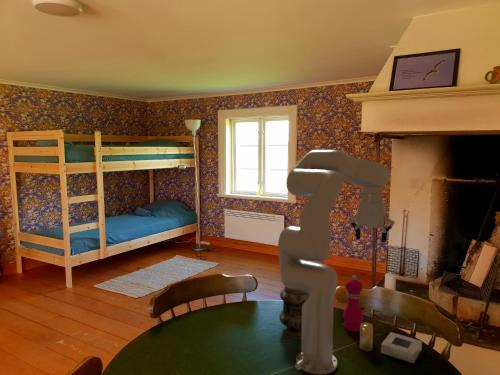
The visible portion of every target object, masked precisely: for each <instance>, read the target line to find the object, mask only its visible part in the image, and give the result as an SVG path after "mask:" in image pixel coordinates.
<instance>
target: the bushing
mask: <svg viewBox="0 0 500 375" xmlns="http://www.w3.org/2000/svg"><path fill="white" fill-rule="evenodd" d="M373 338H374V324H372V323H370V322H367V321H365V322H364V321H362V322H361V324H360V331H359V349H360V350H362V351H364V352H371V351H373Z"/></svg>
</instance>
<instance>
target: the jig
mask: <svg viewBox="0 0 500 375" xmlns="http://www.w3.org/2000/svg"><path fill="white" fill-rule="evenodd" d="M422 344H423V341H422V340H419V339H416V338H413V337H410V336H407V335H402V334H399V333H395V332H392V331H391V332H390V333H389V334H388V335H387V336H386V337H385V339H384V340H383V341H382V342H381V344H380V346H381V347H380V353H381V354H383V355H387V356H390V357H393V358H396V359H399V360H401V361H405V362H408V363H411V364H415V362H416V360H417V358H418V356H419V355H420V352H422V346H423V345H422Z"/></svg>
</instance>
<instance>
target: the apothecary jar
mask: <svg viewBox="0 0 500 375" xmlns="http://www.w3.org/2000/svg"><path fill="white" fill-rule="evenodd" d="M279 296H280V299H281V300H282V301H283V302H282V303H283V307H282V310H281V311H280V313H279V321H280V323H282V325H283V326H284V327H283V328H282V331H281V332H282V334H283V336H284V337H287V338H289V339H293V340H301V330H302V306H303V303H304V302H305V301H306V300H307V299H308V298H309V294H308V293H305V292H302V291H298V290H294V289H291V288H288V287H286V286H285V285H284V288H283V289H281V291H280V292H279Z"/></svg>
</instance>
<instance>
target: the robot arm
mask: <svg viewBox="0 0 500 375" xmlns="http://www.w3.org/2000/svg"><path fill="white" fill-rule="evenodd" d="M390 176H391V175H390V171H389V169H388V168H387V166H385V165H384V164H382V163H379V162H374V161H370V160H366V159H361V158H358V157H354V156H352V155H351V154H348V153H346V152H344V151H342V150H338V149H313V150H310V151H309V152H307V153H306V154H305V155H303V157H302V158H301V159H300V160H299V161H298V162H297V163H296V164H295V166H294V167H292V169H291V170H290V172H289V173H288V175H287V179H286V188H287V191H288V192H289V193H290V194H291V195H292V196H295V197H301V198H302V197H303V198H305V197H306V198H309V199H308V201H307V202H306V203H305V204H304V205H303V206H302V208H301V210H300V211H299V226H294V225H293V226H290V225H289V226H287V227H285V228H283V230H281V232H280V234H279V238H278V243H277V247H278V248H277V251H278V253H277V254H278V263H279V264H278V265H279V272H280V279H281V282H282V284H283V285H284V287H285V286H286V287H288V288H291V289H294V290H298V291H302V292H305V293H308V294H309V298H308V299H307V300H306V301H305V302H304V303H303V306H302V330H301V339H300V340H301V341H300V343H301V345H300V347H301V350H300V351H299V352H298V353H297V354H296V358H295V364H294V365H295V366H294V367H295V369H296V370H297V371H301V370H302V371H304V372H306V373H308V374H312V375H327V374H331V373H333V372H335V370H336V369H337V368H338V359H337V357H336V356H335V355H334V354H333V343H334V342H333V341H334V340H333V339H334V338H333V337H334V335H333V334H334V303H335V296H336V295H335V294H336V290H337V285H338V274H337V271H336V270H335V269H334V268H333V267H331V266H330V265H327V264H324V262H326V261H327V260H328V259H329V257H330V254H331V236H330V234H331V233H330V215H331V214H330V213H331V210H332V208H333V206H334V204H335V202H336V201H337V199H338V197H339V196H340V194H341V191H342V188H343V185H344V181H345V182H347V183H350V184H352V185H353V186H356V187H357V186H358V187H361V193H358V195H357V197H358V198H360V199H361V200H359V202H358V205H357V206H358V207H357V214H355V215H353V216H350V217H348V220H349V222H350V225H351V226H352V227H353V228H354V230H355V232H354V234H355V235H354V237H355V239H356V240H357V241H359V240H360V239H361V227H364V228H365V227H367V228H375V229H380V230H381V231H382V233H381V243H382V244H384V243H385V242H386V241H387V240H388V238H387V234H388V232H389V231H391V229H392V228H393V227H394V225H395V221H394V220H393V219H391V218H389V217H387V216H386V210H385V208H386V207H385V201H383V188H384V187H386V186H387V185H388V184H389V182H390V178H391V177H390ZM355 219H356V221H355ZM386 222H387V223H388V224H389V225H388V226H387V227H386ZM322 262H323V263H322Z"/></svg>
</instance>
